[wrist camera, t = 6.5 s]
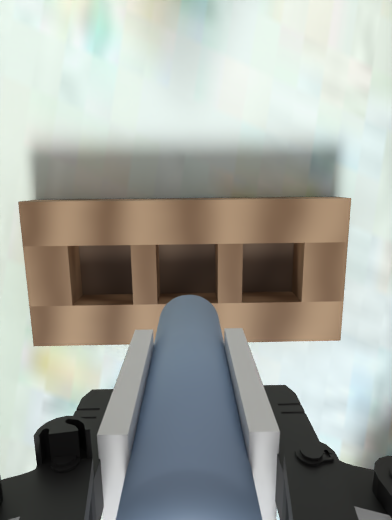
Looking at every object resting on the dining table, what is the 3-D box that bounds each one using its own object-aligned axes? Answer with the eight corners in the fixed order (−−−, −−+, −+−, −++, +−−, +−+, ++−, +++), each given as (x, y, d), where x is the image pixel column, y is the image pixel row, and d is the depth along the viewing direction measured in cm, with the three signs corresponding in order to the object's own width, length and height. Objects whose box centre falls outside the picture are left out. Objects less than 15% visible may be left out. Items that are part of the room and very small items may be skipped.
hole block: (48, 330, 34) (33, 346, 31) (36, 199, 32) (18, 201, 28) (325, 325, 35) (340, 340, 31) (334, 196, 32) (351, 198, 29)
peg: (160, 351, 20) (118, 594, 8) (157, 295, 19) (109, 471, 8) (219, 350, 20) (262, 590, 8) (219, 294, 19) (265, 468, 8)
